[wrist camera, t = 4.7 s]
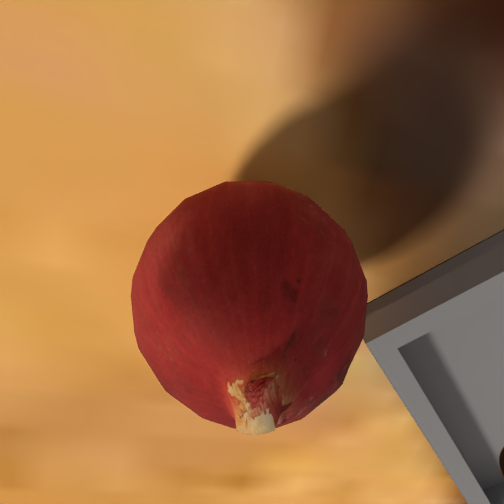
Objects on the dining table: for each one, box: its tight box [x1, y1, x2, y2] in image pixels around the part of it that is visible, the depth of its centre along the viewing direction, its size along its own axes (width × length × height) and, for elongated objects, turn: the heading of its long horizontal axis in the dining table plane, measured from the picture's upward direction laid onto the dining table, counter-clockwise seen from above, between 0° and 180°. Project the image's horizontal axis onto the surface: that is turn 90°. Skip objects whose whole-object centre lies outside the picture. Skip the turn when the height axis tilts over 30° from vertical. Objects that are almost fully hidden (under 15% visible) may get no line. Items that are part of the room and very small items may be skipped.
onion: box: [131, 182, 368, 435], centre depth 11 cm, size 6×6×8 cm
